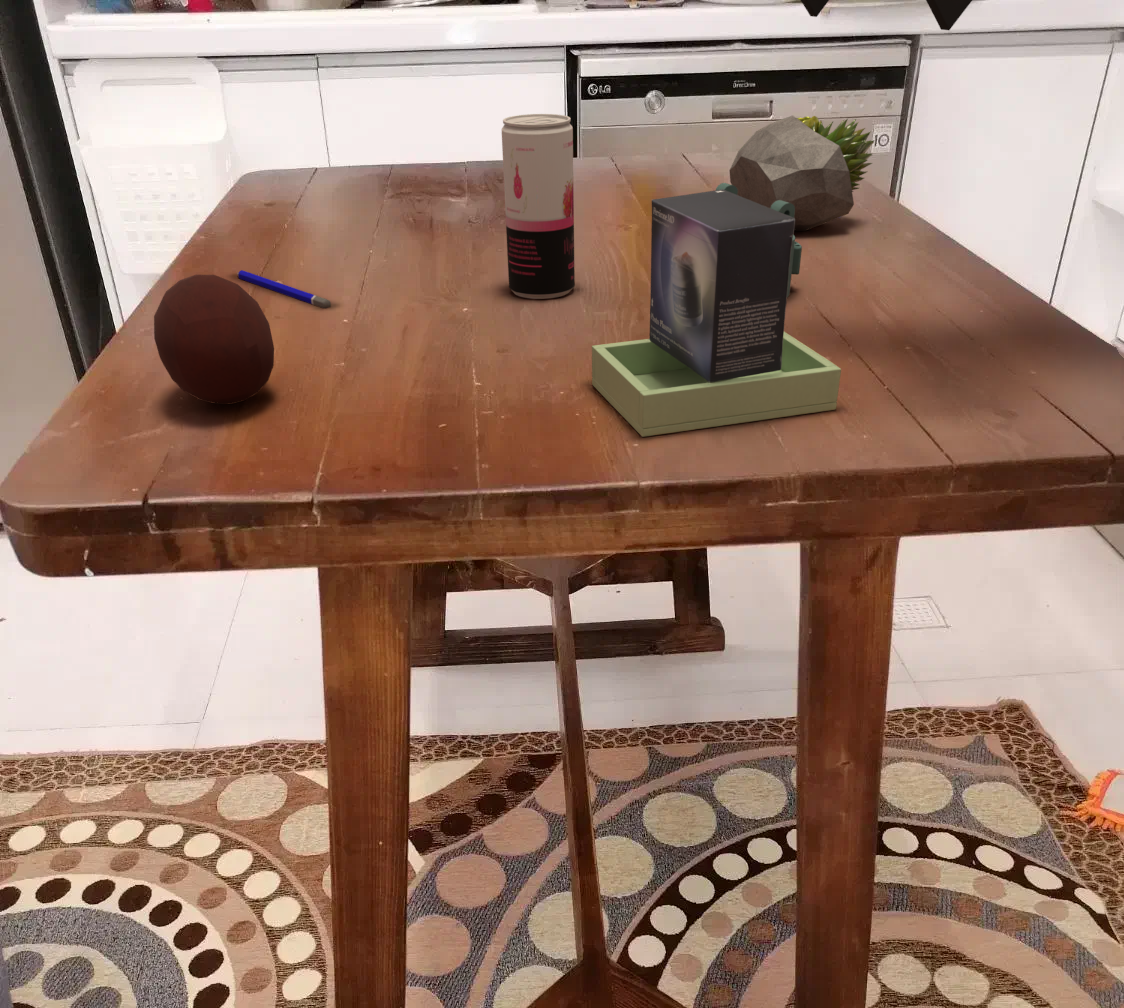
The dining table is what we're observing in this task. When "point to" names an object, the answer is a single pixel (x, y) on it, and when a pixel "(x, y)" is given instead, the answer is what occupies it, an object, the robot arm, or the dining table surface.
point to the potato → (214, 339)
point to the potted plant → (803, 168)
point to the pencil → (284, 289)
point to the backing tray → (708, 388)
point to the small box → (719, 283)
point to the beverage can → (539, 204)
